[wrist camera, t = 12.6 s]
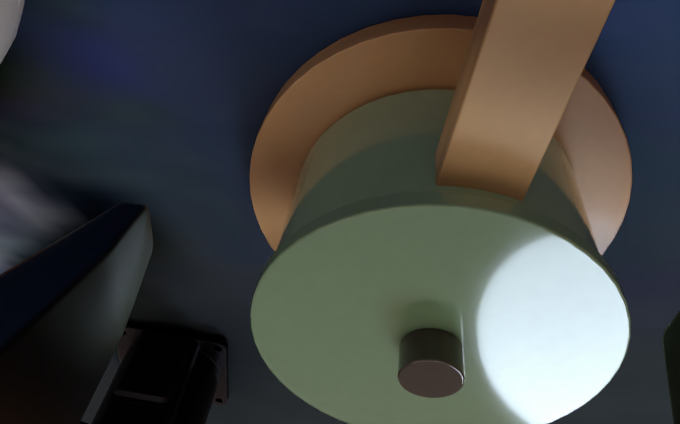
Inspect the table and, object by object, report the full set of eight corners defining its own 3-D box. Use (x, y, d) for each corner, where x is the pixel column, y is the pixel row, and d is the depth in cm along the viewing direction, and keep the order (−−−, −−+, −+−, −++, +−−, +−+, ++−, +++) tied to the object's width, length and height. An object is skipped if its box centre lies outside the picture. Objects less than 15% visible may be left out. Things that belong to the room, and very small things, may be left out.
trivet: (544, 328, 29) (548, 348, 28) (252, 278, 29) (246, 295, 28) (702, 54, 19) (716, 70, 18) (261, -21, 19) (252, -8, 18)
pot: (522, 327, 27) (548, 497, 21) (278, 281, 27) (235, 438, 21) (808, -173, 14) (1084, -95, 8) (336, -262, 14) (267, -251, 8)
